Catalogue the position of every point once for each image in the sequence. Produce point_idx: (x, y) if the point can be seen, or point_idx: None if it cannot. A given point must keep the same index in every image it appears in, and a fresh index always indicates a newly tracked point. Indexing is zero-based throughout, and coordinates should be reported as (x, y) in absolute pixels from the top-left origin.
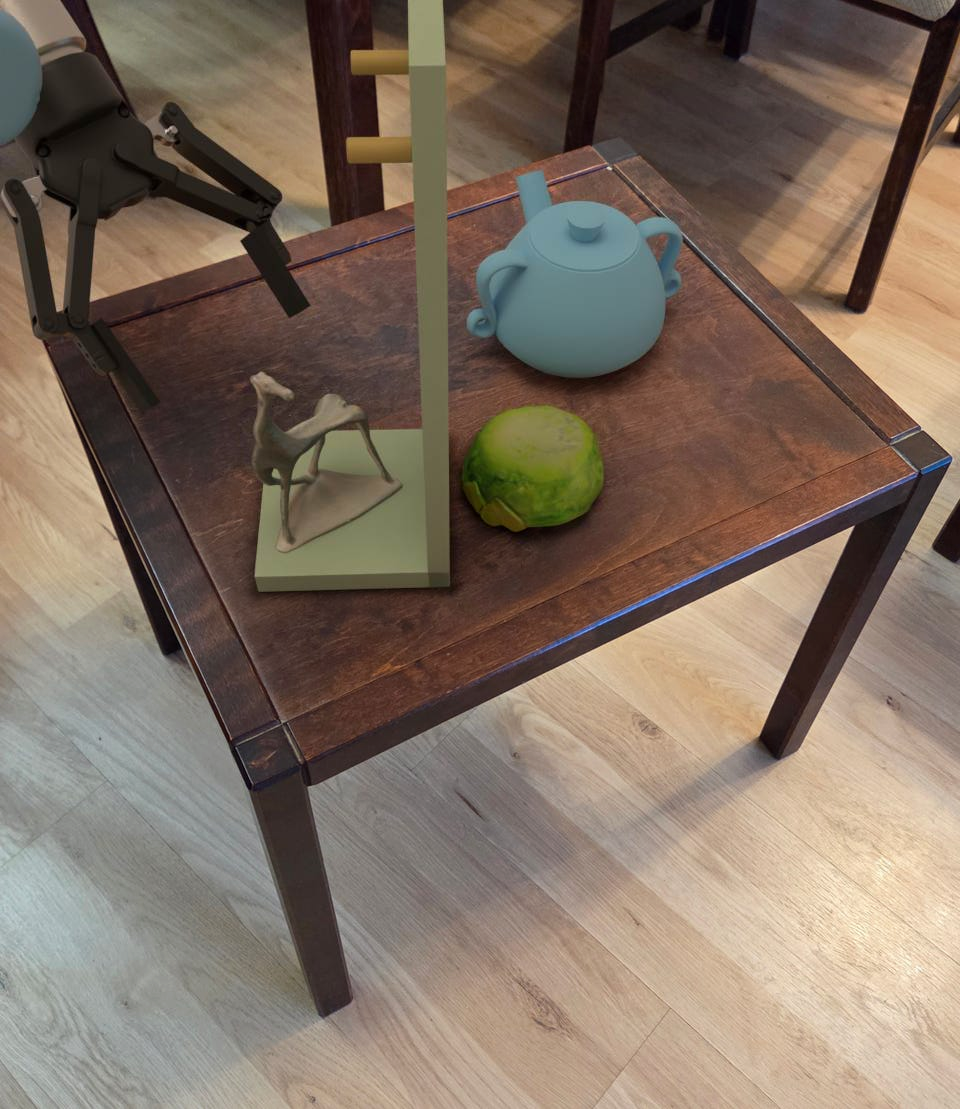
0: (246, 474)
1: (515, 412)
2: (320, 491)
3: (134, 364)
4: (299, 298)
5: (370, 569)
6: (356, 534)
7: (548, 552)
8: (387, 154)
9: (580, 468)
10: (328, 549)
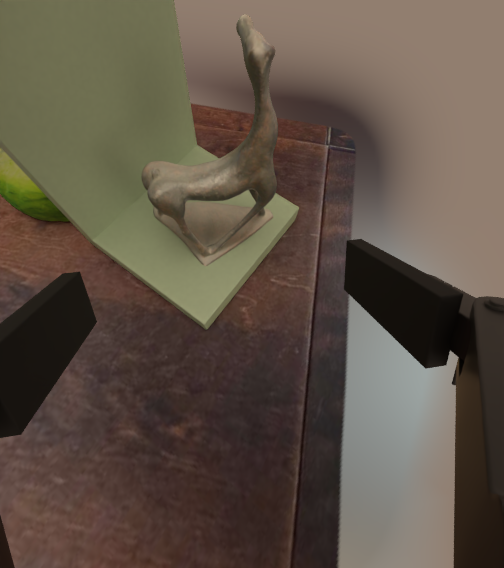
0: (242, 318)
1: (24, 182)
2: (212, 235)
3: (377, 260)
4: (65, 279)
5: None
6: None
7: None
8: None
9: None
10: (240, 195)
